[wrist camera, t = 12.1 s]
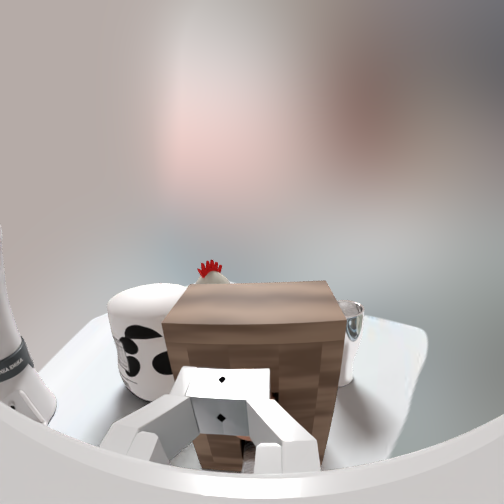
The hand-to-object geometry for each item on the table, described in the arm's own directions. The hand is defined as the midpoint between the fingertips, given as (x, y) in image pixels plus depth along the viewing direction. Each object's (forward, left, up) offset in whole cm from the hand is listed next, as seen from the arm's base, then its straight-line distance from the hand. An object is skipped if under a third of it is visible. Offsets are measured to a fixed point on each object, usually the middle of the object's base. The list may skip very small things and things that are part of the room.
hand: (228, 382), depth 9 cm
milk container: (+19, +33, -29) cm, 48 cm away
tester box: (+16, +9, -29) cm, 34 cm away
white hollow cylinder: (+36, +4, -29) cm, 47 cm away
